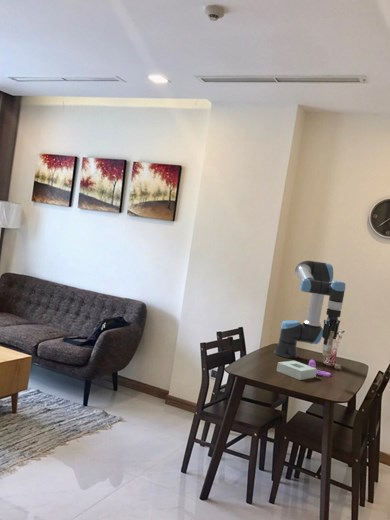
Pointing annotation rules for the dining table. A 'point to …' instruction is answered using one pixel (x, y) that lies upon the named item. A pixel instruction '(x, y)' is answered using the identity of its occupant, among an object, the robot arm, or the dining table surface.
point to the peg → (327, 353)
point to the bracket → (313, 364)
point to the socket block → (296, 370)
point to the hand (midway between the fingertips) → (327, 350)
